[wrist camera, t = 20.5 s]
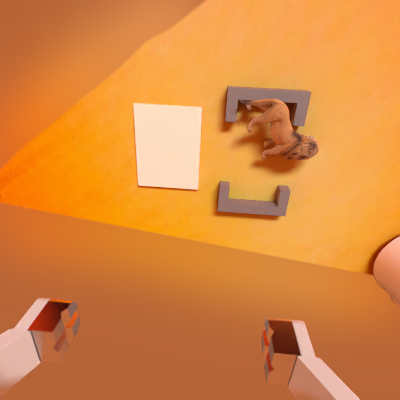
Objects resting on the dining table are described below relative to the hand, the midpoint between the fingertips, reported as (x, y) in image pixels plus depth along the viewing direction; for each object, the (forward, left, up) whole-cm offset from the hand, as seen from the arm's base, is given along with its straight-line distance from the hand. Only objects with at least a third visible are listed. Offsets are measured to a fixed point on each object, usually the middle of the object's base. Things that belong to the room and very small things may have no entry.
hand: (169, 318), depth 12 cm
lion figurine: (-7, -1, -32) cm, 33 cm away
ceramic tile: (+6, +2, -34) cm, 35 cm away
